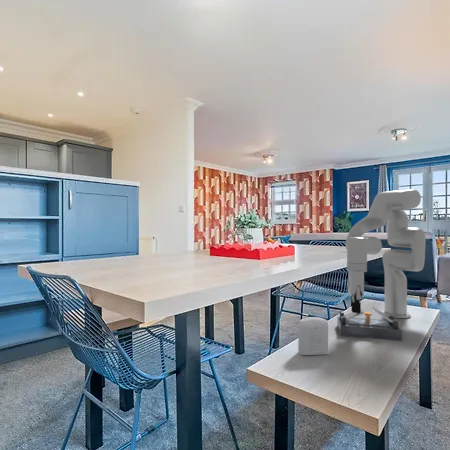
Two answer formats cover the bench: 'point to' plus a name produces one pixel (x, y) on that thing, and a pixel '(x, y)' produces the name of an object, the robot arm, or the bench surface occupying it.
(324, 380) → the bench surface
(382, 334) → the tray
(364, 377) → the bench surface
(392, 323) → the strap
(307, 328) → the photo printer
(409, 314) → the robot arm
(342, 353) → the bench surface
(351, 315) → the strap
